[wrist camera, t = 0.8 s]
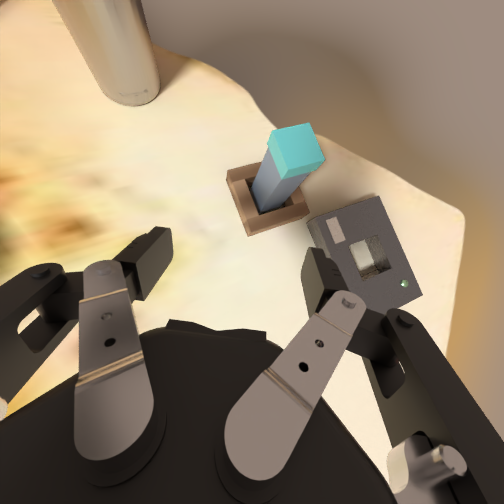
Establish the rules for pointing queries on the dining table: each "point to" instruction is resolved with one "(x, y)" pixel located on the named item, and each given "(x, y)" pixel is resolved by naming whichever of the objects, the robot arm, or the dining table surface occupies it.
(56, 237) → the dining table surface
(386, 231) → the port panel
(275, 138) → the plug
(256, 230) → the holster
